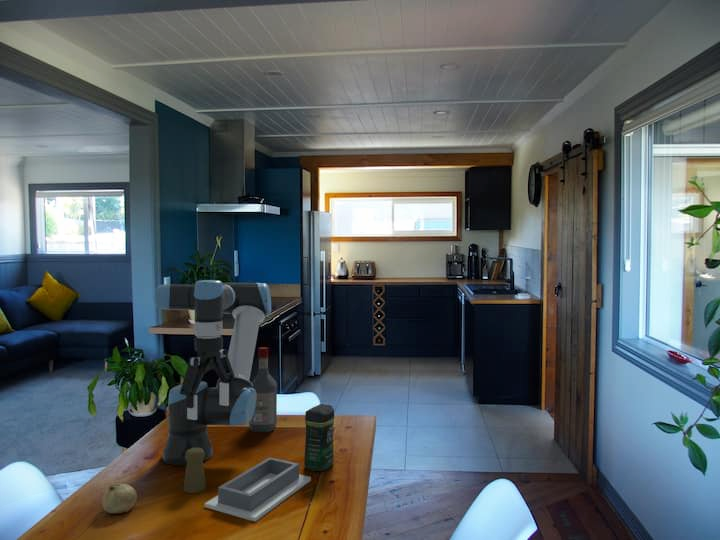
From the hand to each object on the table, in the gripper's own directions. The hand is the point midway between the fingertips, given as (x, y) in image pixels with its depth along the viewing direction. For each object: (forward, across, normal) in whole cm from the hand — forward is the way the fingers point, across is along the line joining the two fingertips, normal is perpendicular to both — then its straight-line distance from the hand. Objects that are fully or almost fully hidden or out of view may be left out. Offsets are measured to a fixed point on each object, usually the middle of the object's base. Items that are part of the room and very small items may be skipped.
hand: (208, 411), depth 147 cm
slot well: (+21, +2, -16) cm, 26 cm away
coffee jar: (+21, +25, -22) cm, 40 cm away
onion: (+21, -20, +12) cm, 32 cm away
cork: (+21, -3, +3) cm, 22 cm away
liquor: (+22, +47, +13) cm, 53 cm away
